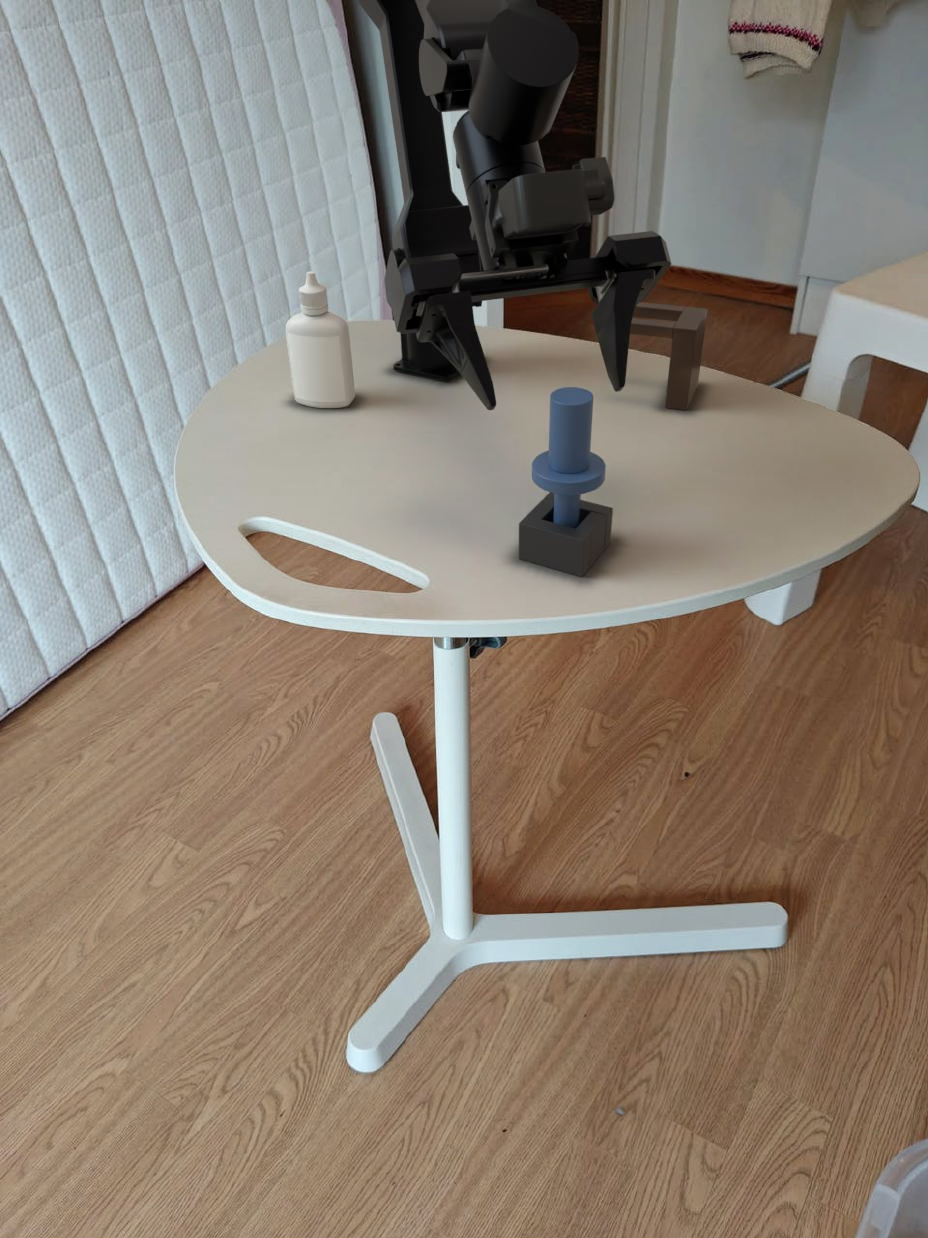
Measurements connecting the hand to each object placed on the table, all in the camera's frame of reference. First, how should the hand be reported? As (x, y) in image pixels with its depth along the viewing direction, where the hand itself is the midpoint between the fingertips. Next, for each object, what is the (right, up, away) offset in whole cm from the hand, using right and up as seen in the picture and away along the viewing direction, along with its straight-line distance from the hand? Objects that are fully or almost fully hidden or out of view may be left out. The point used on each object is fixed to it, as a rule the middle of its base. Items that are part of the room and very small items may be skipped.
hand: (557, 398), depth 66 cm
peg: (+1, -10, +4) cm, 11 cm away
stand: (+12, +6, +26) cm, 29 cm away
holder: (+1, -10, +4) cm, 11 cm away
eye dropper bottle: (-19, +5, +26) cm, 33 cm away
